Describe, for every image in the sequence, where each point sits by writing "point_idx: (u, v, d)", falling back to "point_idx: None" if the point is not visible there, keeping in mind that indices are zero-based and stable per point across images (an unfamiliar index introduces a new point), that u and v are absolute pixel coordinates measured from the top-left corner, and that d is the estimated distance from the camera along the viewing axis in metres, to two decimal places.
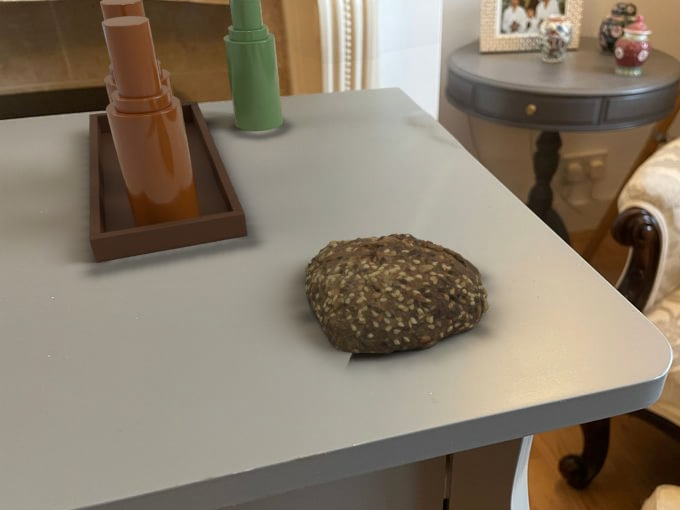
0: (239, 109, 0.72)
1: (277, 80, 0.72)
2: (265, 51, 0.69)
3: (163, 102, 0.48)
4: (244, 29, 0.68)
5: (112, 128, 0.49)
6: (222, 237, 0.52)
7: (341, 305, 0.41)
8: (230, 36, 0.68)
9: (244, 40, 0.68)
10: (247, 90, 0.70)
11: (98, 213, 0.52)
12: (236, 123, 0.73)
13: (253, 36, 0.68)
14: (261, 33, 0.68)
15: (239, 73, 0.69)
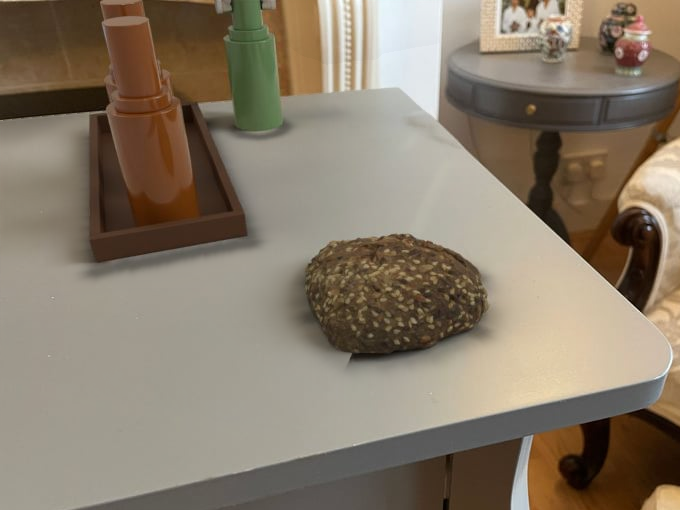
0: (239, 109, 0.72)
1: (277, 80, 0.72)
2: (265, 51, 0.69)
3: (163, 102, 0.48)
4: (244, 29, 0.68)
5: (112, 128, 0.49)
6: (222, 237, 0.52)
7: (341, 305, 0.41)
8: (230, 36, 0.68)
9: (244, 40, 0.68)
10: (247, 90, 0.70)
11: (98, 213, 0.52)
12: (236, 123, 0.73)
13: (253, 36, 0.68)
14: (261, 33, 0.68)
15: (239, 73, 0.69)
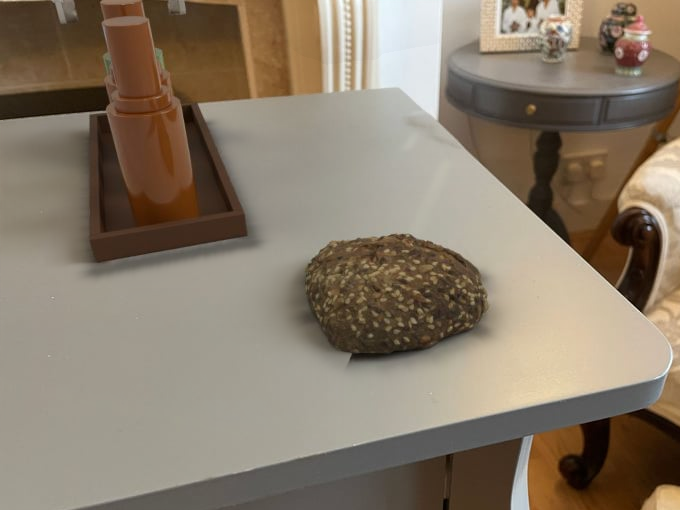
0: None
1: None
2: None
3: (163, 102, 0.48)
4: None
5: (112, 128, 0.49)
6: (222, 237, 0.52)
7: (341, 305, 0.41)
8: None
9: None
10: None
11: (98, 213, 0.52)
12: None
13: None
14: None
15: None
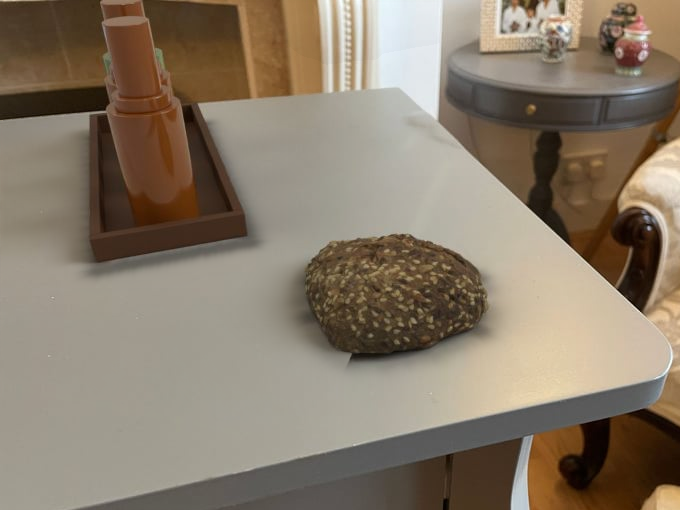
0: None
1: None
2: None
3: (163, 102, 0.48)
4: None
5: (112, 128, 0.49)
6: (222, 237, 0.52)
7: (341, 305, 0.41)
8: None
9: None
10: None
11: (98, 213, 0.52)
12: None
13: None
14: None
15: None
